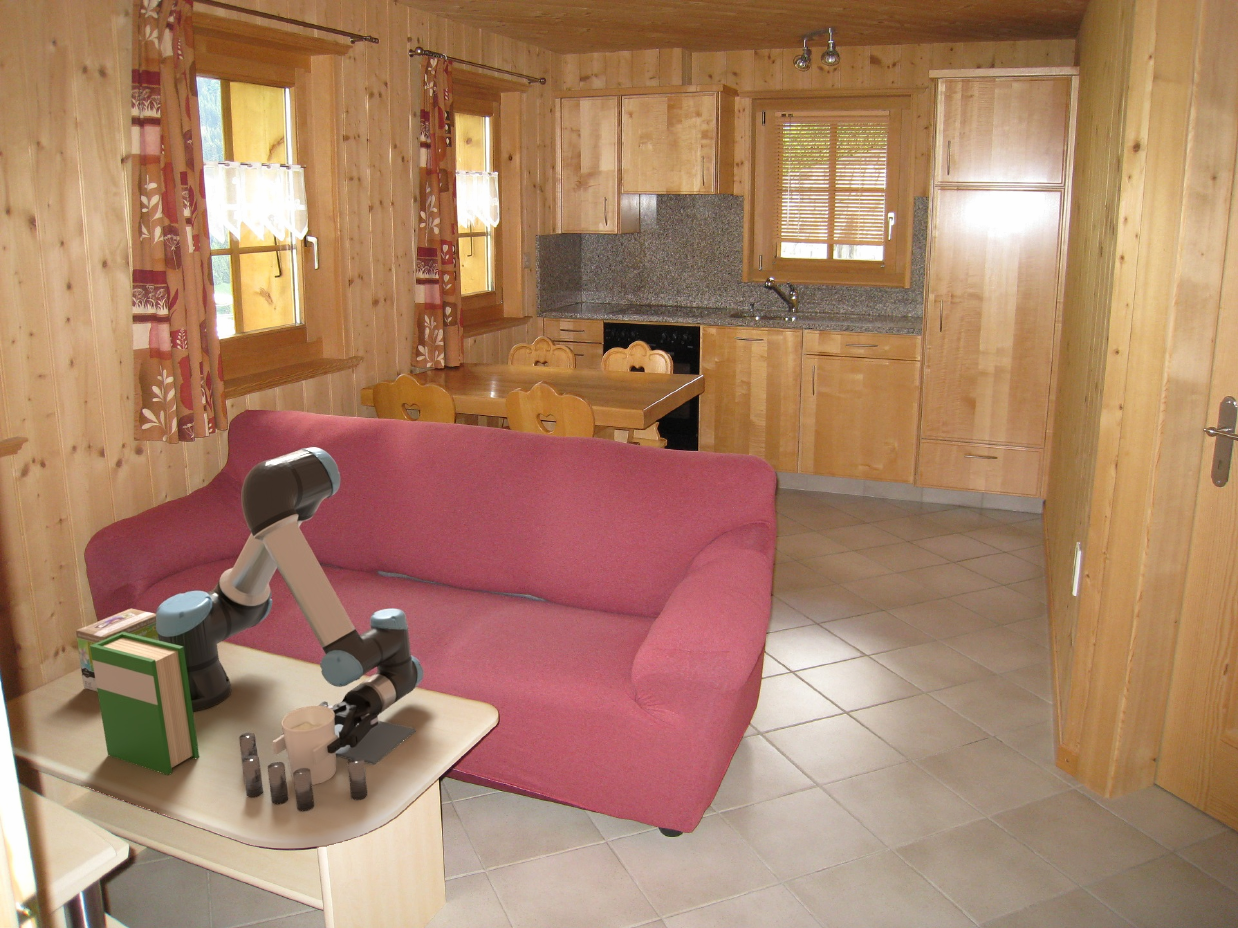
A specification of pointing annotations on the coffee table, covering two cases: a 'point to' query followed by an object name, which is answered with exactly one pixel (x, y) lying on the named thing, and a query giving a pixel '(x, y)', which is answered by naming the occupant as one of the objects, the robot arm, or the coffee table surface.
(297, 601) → the robot arm
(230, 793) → the coffee table surface
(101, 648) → the hardback book
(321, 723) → the candle holder
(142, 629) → the tea box
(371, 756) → the mat
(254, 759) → the spacer posts
